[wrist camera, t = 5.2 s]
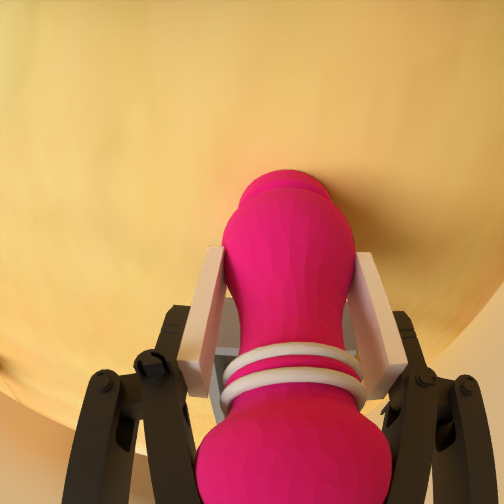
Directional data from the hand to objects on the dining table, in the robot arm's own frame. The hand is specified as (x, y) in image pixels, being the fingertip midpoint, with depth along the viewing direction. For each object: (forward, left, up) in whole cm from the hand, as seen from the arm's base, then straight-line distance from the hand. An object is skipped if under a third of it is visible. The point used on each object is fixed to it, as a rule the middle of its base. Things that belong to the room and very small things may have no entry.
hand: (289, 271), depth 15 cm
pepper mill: (0, 0, -6) cm, 6 cm away
